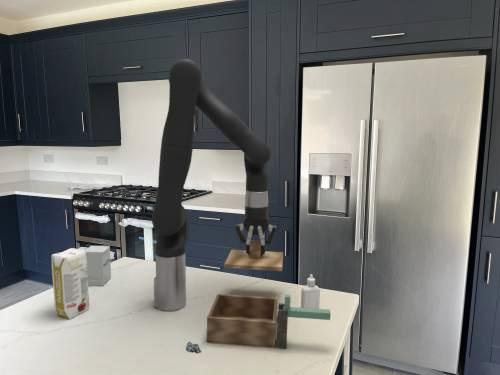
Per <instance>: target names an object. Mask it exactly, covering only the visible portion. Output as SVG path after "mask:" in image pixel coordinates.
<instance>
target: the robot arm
mask: <svg viewBox="0 0 500 375" xmlns="http://www.w3.org/2000/svg"><path fill="white" fill-rule="evenodd" d="M202 77H203V76H202V72H201V69H200V67H199V65H198V64H197V63H196V62H194V61H193V60H191V59H189V58H182V59H178V60H177V61H175V62H174V63H173V64H171V67H170V69H169V71H168V76H167V79H168V82H169V93H168V94H169V96H168V97H169V98H168V99H169V100H168V102H169V103H168V110H167V115H166V119H165V122H164V126H163V129H162V137H161V144H160V154H159V166H158V181H157V182H158V183H157V192H156V197H155V198H156V199H155V203H154V207H153V211H152V216H151V223H152V227H153V229H154V230H155V232H156V233H157V239H156V242H155V247H154V249H155V250H154V252H155V253H154V255H155V277H154V278H153V301H154V302H153V303H154V304H153V305H154V306H153V307H154V308H157V309H159V310H161V311H165V312H171V311H172V312H174V311H177V310H180V309H182V308H184V307H185V306H186V305H187V275H186V273H187V272H186V247H187V246H186V245H187V238H188V236H187V232H188V223H187V222H188V220H187V219H188V217H187V216H188V215H187V211H186V208H185V207H184V206H183V205H182V201H183V193H184V192H183V191H184V188H185V187H184V186H185V184H186V181H187V178H188V174H189V171H190V168H191V163H192V157H193V150H194V140H195V139H194V138H195V137H194V136H195V111H196V107H197V108H198V109H199V110H200V111H201V112H202V113H203V114H204V115H205V116H206V117H207V118H208V120H209V121H211V123H212V124H213V126H215V127H216V128H217V129H218V130H219V131H220V132H221V133H222V134H223V135H224V138H227V140H228V141H229V142H230V143H231V144H232V145H234V146H236V147H237V148H239V149H240V150H241V152H243V163H244V169H245V195H244V220H243V222H242V223H240V224H239V223H238V224H235V231H236V234H237V235H238V237H239V241H240V243H243V244H244V245H245V250H246V253H247V254H248V255H249V256H250V242H251V240H252V236H259V239H260V240H259V241H261V256H263V255H264V254H265V251H266V245H270V244H271V243H272V240H273V238H274V236H275V233H276V231H277V226H276V225H272V224H271V223H270V222H269V220H268V218H269V216H268V215H269V192H268V190H269V189H268V182H269V181H268V180H269V179H268V174H267V173H266V170H265V169H266V168H265V165H266V164H267V163H268V162H269V161H270V160H271V157H272V152H271V149H270V147H269V145H268V144H267V143H266V142H265V141H264V140H263V139H262V138H260V137H259V136H258V135H257V134H256V133H255V132H253V131H252V130H251V129H250V128H249V127H248V126H247V124H246V123H245V122H244V121H243V120H242V119H241V118H240V117H239V116H238V115H237V114H236V113H235V112H234V111H233V110H232V109H231V108H229V107H228V106H227V104H225V103H223V101H221V100H220V99H219V98H218V97H217V96H216V95H215V94H214V93H213V92H212V91H211V90H210V89H209V87H207V85H206V84H205V82H203V79H202ZM244 229H245V230H246V231H247V237H246V236H245V235H244V231H243V230H244ZM267 229H269V230H268V232H269V235H268V237H267V238H265V232H266V231H267Z"/></svg>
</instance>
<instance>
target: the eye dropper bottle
mask: <svg viewBox="0 0 500 375" xmlns="http://www.w3.org/2000/svg"><path fill="white" fill-rule="evenodd" d="M320 289H321V288H320V287H319V286H318V285H316V278H314V277H313V274H309V277H308V278H307V279H306V285H304V286H302V288H301V293H300V308H313V309H320V298H321V297H320V295H321V294H320V292H321V290H320Z"/></svg>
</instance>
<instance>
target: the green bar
mask: <svg viewBox="0 0 500 375" xmlns="http://www.w3.org/2000/svg"><path fill="white" fill-rule="evenodd" d="M291 298H292V297H291V294H286V293H285V294H284V303H283V304H284V306H283V310H288V318H296V319H297V318H298V319H311V320H312V319H313V320H323V321H325V320H326V321H331V316H332V315H331V314H332V313H331V309H326V308H325V309H322V308H319V309H313V308H301V307H297V306H296V307H295V306H291Z"/></svg>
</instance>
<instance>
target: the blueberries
mask: <svg viewBox="0 0 500 375" xmlns="http://www.w3.org/2000/svg"><path fill="white" fill-rule="evenodd" d="M185 350H186V352H188V353H192V354H193V353H195V354H201V353H202V350H201V349H200V346H199V344H198V343H193V342H191V341H188V342H187V344H186V347H185Z"/></svg>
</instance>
